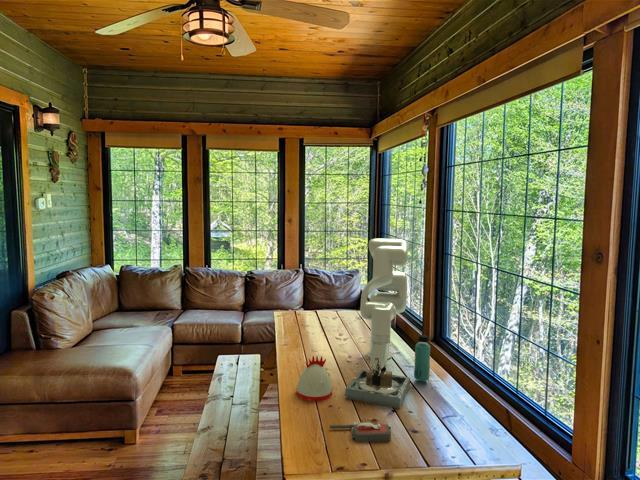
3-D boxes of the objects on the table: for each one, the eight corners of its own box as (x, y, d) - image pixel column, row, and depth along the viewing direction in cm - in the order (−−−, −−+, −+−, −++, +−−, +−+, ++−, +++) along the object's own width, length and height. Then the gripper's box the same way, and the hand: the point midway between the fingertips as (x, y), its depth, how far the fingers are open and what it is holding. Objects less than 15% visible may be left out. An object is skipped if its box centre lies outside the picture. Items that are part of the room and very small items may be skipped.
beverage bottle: (430, 380, 188) (432, 334, 187) (428, 386, 182) (430, 338, 180) (414, 377, 190) (416, 332, 189) (412, 383, 184) (414, 336, 182)
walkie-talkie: (388, 428, 148) (329, 428, 146) (389, 415, 147) (329, 416, 146) (394, 442, 139) (331, 443, 138) (395, 429, 138) (331, 429, 137)
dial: (398, 380, 181) (399, 366, 181) (400, 397, 165) (400, 381, 165) (359, 377, 183) (359, 363, 183) (357, 393, 168) (358, 378, 167)
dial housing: (360, 378, 188) (360, 368, 188) (409, 387, 180) (410, 377, 180) (345, 398, 169) (345, 387, 168) (399, 408, 161) (400, 397, 161)
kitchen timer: (335, 400, 167) (336, 361, 166) (299, 402, 165) (299, 363, 163) (328, 385, 181) (329, 349, 179) (295, 386, 178) (295, 350, 177)
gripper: (376, 330, 182) (375, 371, 184) (365, 342, 166) (363, 387, 167) (394, 333, 179) (393, 374, 181) (384, 345, 163) (383, 391, 165)
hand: (379, 380), depth 174 cm, fingers open, 8 cm apart
